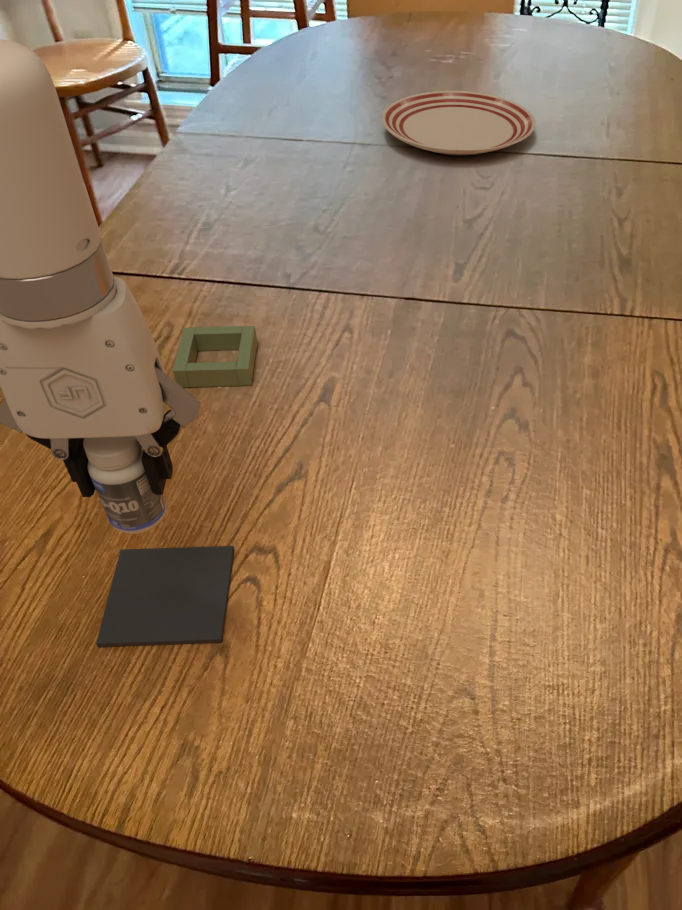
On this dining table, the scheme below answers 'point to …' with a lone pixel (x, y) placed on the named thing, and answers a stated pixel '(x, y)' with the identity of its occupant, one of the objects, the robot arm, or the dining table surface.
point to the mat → (167, 597)
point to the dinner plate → (458, 122)
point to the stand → (216, 372)
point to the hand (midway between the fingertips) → (126, 482)
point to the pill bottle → (123, 483)
